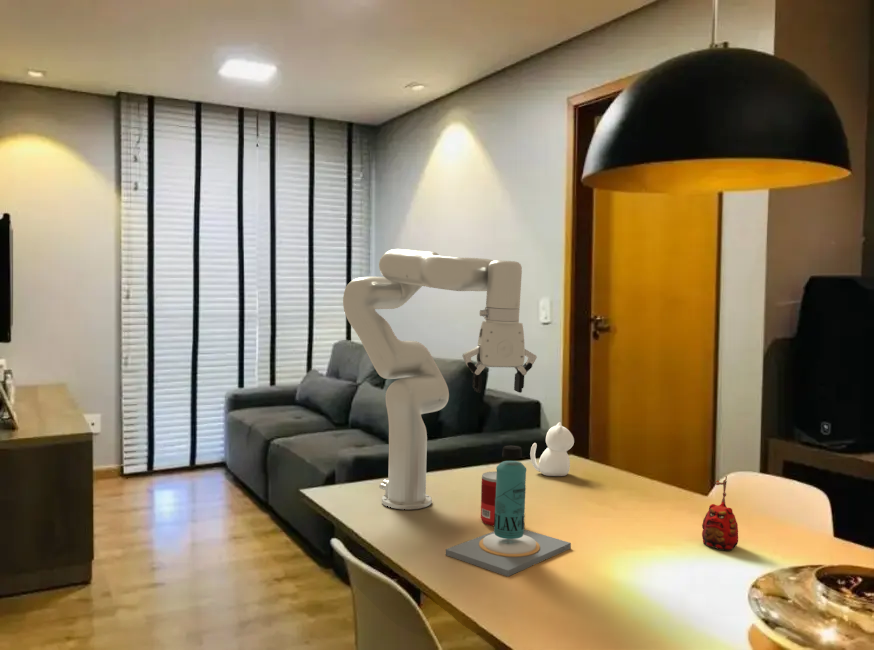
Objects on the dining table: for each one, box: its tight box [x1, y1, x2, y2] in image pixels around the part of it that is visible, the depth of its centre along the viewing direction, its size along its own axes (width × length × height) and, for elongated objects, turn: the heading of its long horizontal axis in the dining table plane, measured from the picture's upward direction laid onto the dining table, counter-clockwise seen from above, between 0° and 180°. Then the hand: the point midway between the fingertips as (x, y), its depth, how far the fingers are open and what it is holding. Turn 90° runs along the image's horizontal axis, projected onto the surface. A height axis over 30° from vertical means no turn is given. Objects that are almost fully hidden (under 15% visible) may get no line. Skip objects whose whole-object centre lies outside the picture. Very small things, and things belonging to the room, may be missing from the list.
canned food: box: [480, 470, 497, 527], centre depth 181 cm, size 8×8×11 cm
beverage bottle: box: [493, 445, 527, 539], centre depth 161 cm, size 6×7×20 cm
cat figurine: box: [529, 421, 575, 477], centre depth 226 cm, size 9×12×15 cm
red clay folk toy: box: [701, 475, 739, 552], centre depth 167 cm, size 8×7×15 cm
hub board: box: [445, 529, 572, 577], centre depth 161 cm, size 16×22×2 cm
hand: (497, 391), depth 174 cm, fingers open, 9 cm apart
